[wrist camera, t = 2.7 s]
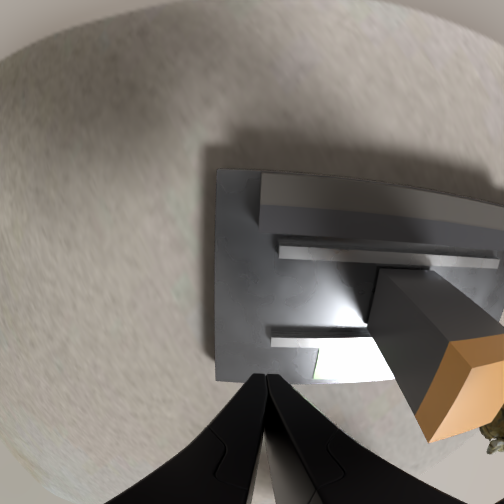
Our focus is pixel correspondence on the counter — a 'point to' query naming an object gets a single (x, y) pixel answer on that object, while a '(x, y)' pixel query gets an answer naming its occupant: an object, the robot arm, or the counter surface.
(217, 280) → the panel
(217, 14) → the counter surface
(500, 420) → the onion
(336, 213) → the long gray beam
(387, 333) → the lever
